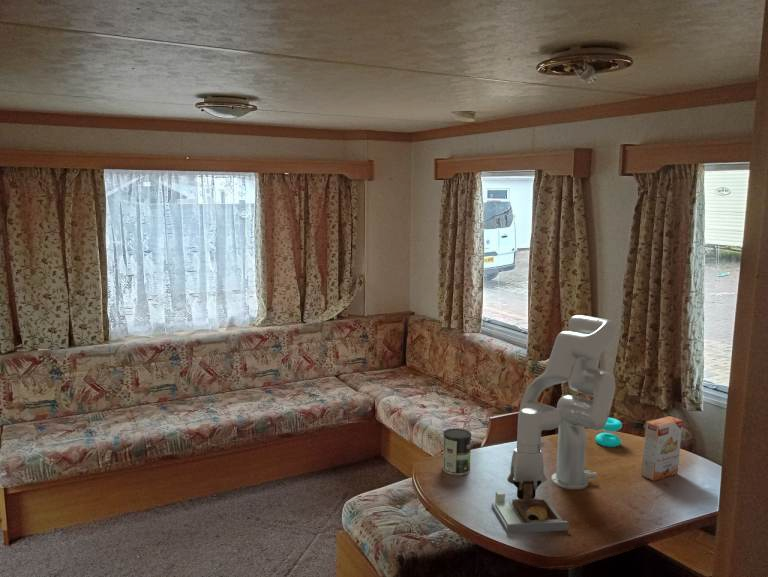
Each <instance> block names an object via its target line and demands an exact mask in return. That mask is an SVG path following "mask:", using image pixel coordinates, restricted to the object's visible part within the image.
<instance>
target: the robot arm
mask: <svg viewBox="0 0 768 577" xmlns="http://www.w3.org/2000/svg"><path fill="white" fill-rule="evenodd" d="M569 318H570V319H569V320H568V330H563V331H560V332H558V334H557V336H556V337H555V341H554V343H553V346H552V350H551V353H550V356H549V359H548V361H547V365H546V366H545V367H546V368H545V369H544V371H543V373H541V374H540V375H538V376H537V377H536V378H534V379H533V381H532V382H530V384H529V385H528V386H527V387H526V389H525V390H524V391H525V392H524V393H523V397H522V400H521V402H520V405H519V412H518V415H517V417H518V418H517V433H516V434H517V435H516V439H517V440H516V447H515V448H514V449H513V452H512V457H511V462H510V473H509V475H508V476H507V478H506V480H507V482H508V483H509V484H511V485H514V486H515V487H516V490H517V491H516V497H517V499H523V492H524V491H523V489H522V487H523V481H531V482H532V484H533V490H532V499H533V498H536V490H537V489H538V487H540V485H542V484H543V483H544V482H546V481H547V480H548V478H547V477H546V474H545V470H544V456H543V451H542V448H544V447H546V446H545V442H542V431H552V430H555V429H557V428H558V432H557V434H558V435H557V437H558V438H557V448H556V449H557V450H556V451H557V453H556V469H555V471H556V472H555V473H553V474H552V475H551V482H552V484H554V485H555V486H557V487H559V488H563V489H566V490H583V489H585V488H587V487H588V485H589V479H598V473H597V472H596V471H594V472H591V470H589V469H587V470H585V464H586V449H587V433H586V430H585V429H590V430H592V431H601V430H603V428H604V426H605V425H606V422H607V420H608V417H610V416H609V415H610V412H611V408H612V404H613V399H614V396H615V391H616V380H615V377H614V375H613V374H611V373H610V372H609V371H605V370H603V369H599V364H600V360H601V354H602V353H603V352H605V351H606V349H608V347H610V346H611V345H612V344H613V343H614V342H615V340H616V338H617V335H618V332H619V331H618V330H619V329H618V326H617V324H616V323H615V322H614V321H613V320H611V319H607V318H600V317H595V316H591V315H585V314H584V315H581V314H576V315H573V316H571V317H569ZM567 382H568V388H569V389H570V390H572V391H574V392H577V393H579V394H582V395H586V396H589V397H593V399H587V398H585V397H582V396H577V395H573V394H566V395H562V396H561V397H560V398H559V399H558V401H557V404H556V407H555V406H552V405H549V404H545V403H541V402H540V401H539V402H538V398H540V397H539V396H540V395H541V393H542V392H543V391H544V390H546V389H548V388H549V387H551V386H554V385H559V384H564V383H567Z"/></svg>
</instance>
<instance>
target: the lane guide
mask: <svg viewBox="0 0 768 577" xmlns="http://www.w3.org/2000/svg"><path fill="white" fill-rule="evenodd" d="M508 503H509V504H510V506H511V507H512V509H513V510H514V512H515V513H516V515H517V516H518V518H519V519H520V521H521V522H522V523H511V524H506V523H505V521H504V519H503V518H502V516H501V514H500V513H499V511H498V509H497V508H496V506H495V502H491V508H492V510H493V512H494V513H495V515H496V517H497V519H499V522H500V523H501V524H502V527H503V528H504V530H505V532H506V533H507V534H517V533H520V534H521V533H541V532H542V533H543V532H559V531H563V532H564V531H565V532H566V531H568V528H569V527H568V526H569V521H568V520H563V521H554V522H533V523H524V521H523V520H522V518H521V517H520V515H519V514H518V512H517V511H516V509H515V508H514V506H513V505H512V502H511V501H510V502H508ZM552 508H553V509H554V507H553V506H552ZM556 513H557V514H558V512H557V511H556ZM560 518H561V516H560ZM561 519H562V518H561Z"/></svg>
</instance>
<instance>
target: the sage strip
mask: <svg viewBox="0 0 768 577" xmlns="http://www.w3.org/2000/svg"><path fill="white" fill-rule="evenodd" d="M505 501H506V493H505V492H504V490H495V499H494V505H495V506H496V508H497V509H498V511H499V513H500V514H501V516H502V518H503V519H504V521H505V523H506V524H511V523H522V522H521V521H520V519H519V518H518V516H517V515H516V513H515V512H514V510H513V509H512V507H511V506H510V504H509V503H510V502H505Z"/></svg>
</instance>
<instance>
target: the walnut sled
mask: <svg viewBox="0 0 768 577" xmlns="http://www.w3.org/2000/svg"><path fill="white" fill-rule="evenodd" d="M522 489H523V491H524V492H523V499H519V498H512V502H511V503H512V505H513V506H514V508H515V509H516V511H517V512H518V514H519V515H520V517H521V518H522V520H523V521H524V523H533V522H554V521H564V520H563V519H562V518H560V517H561V516H560V515H559V513H558V512H557V511H556V510H555V508H554V507H553V505H551V504H550V502H549V501H548V500H547V499H546V497H534V498H533V499H532V490H533V484H532V482H531V481H523V487H522ZM533 506H541V507H544V508H546V509H547V513H548V517H550V518H551V519H547V520H533V521H530V520H529V518H528V517H527V515H526V514H525V512H526V511H524V510H523V508H530V507H533ZM552 507H553V508H552ZM556 512H557V513H556Z"/></svg>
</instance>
